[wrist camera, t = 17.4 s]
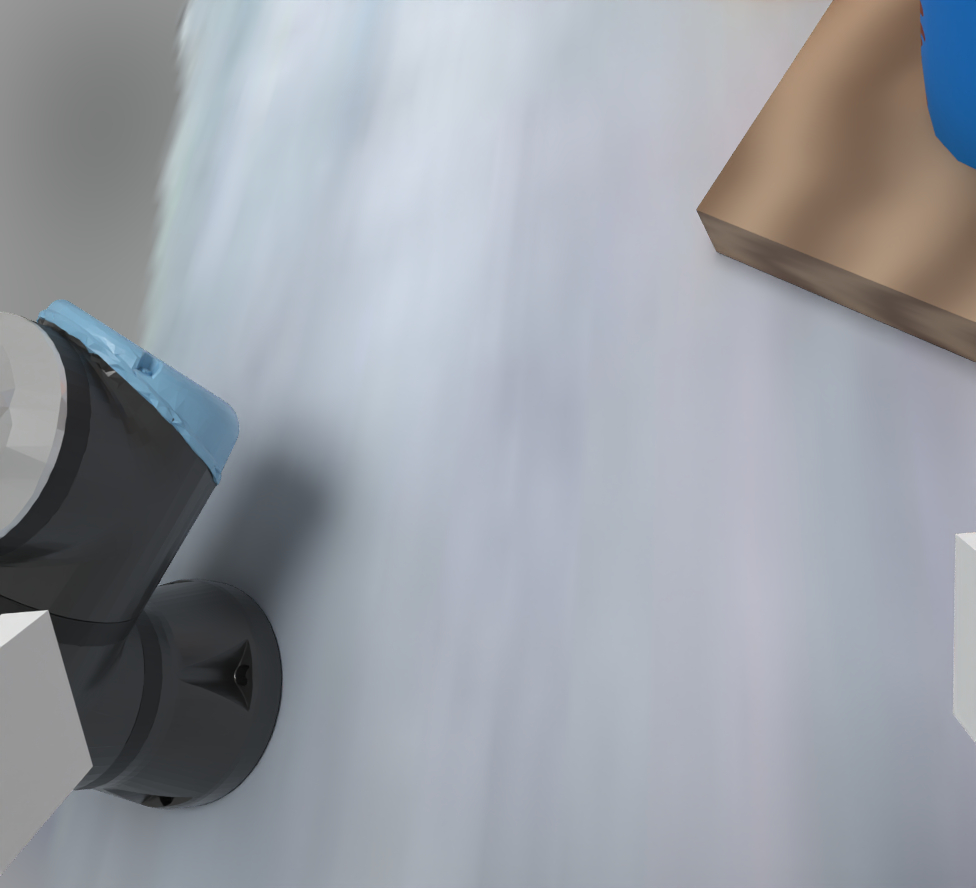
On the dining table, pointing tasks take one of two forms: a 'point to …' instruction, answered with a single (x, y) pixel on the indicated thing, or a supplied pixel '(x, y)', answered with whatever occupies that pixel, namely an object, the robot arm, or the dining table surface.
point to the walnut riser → (856, 182)
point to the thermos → (951, 73)
